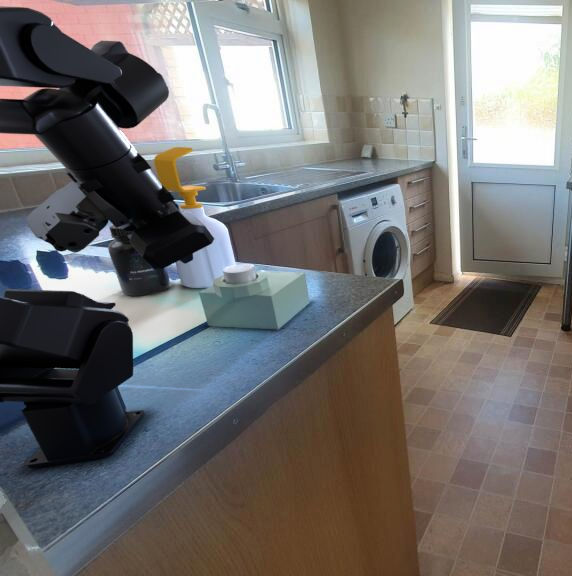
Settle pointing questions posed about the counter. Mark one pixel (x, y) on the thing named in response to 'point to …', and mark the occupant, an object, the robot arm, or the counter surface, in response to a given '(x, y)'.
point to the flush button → (239, 273)
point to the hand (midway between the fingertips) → (187, 260)
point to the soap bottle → (218, 253)
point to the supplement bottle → (134, 267)
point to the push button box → (256, 300)
